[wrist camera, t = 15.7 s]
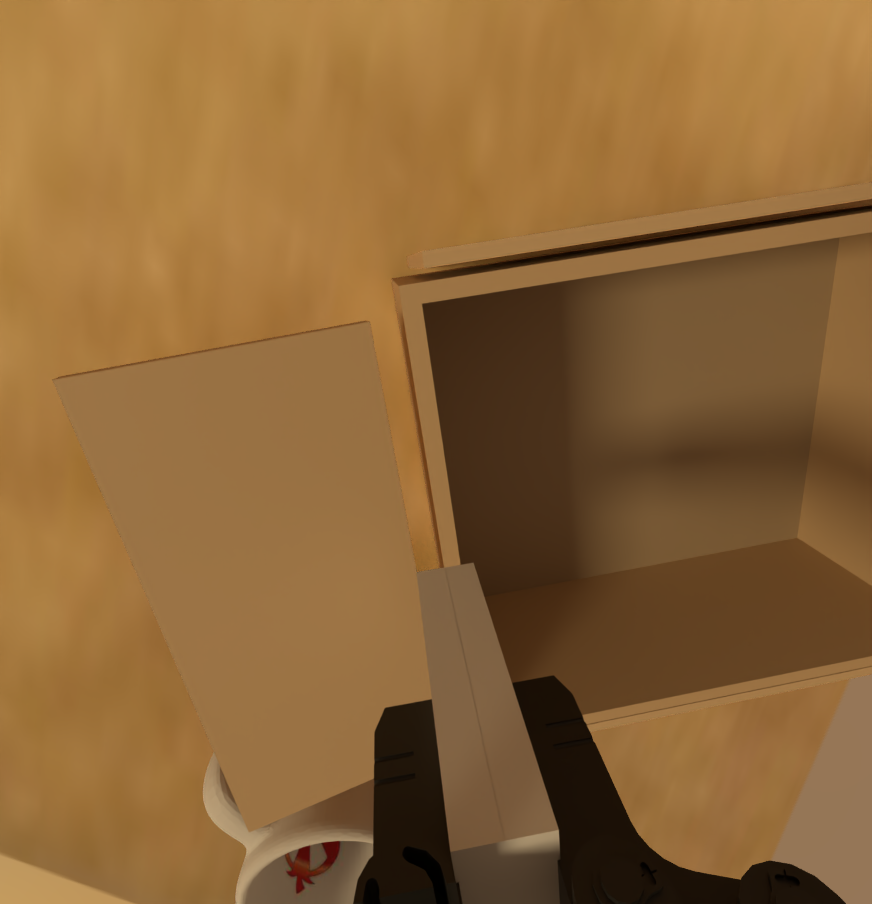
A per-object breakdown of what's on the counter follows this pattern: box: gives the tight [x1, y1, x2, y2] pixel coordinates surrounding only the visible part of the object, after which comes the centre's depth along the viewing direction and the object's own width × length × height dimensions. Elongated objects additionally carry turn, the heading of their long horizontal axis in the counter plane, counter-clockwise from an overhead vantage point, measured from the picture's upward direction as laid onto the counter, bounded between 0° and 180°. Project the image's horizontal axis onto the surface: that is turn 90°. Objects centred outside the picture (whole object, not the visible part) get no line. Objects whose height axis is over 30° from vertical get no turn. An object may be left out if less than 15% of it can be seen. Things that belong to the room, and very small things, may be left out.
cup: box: [203, 753, 374, 904], centre depth 23 cm, size 11×8×8 cm
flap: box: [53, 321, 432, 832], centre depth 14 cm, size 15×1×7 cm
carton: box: [391, 182, 872, 732], centre depth 19 cm, size 17×19×8 cm
